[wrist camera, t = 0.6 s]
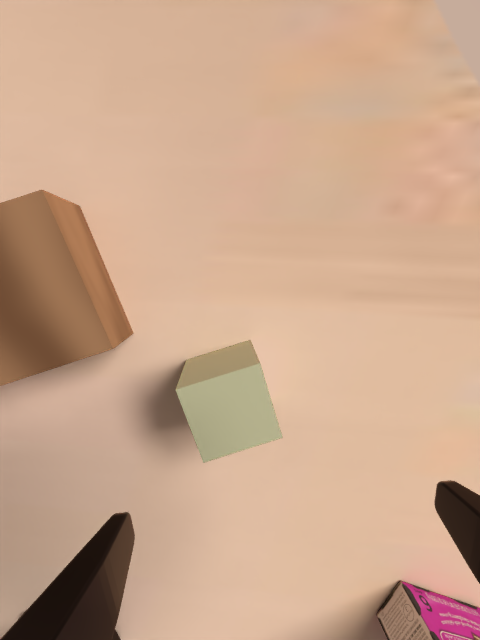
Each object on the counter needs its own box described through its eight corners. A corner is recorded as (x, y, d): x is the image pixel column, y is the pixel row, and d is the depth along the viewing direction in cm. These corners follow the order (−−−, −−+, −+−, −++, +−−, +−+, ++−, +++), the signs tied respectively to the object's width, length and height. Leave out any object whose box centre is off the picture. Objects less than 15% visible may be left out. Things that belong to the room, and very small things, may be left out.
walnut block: (17, 371, 19) (-35, 397, 15) (-49, 249, 17) (-127, 244, 14) (134, 332, 19) (113, 348, 15) (82, 206, 17) (41, 189, 14)
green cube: (207, 417, 21) (203, 462, 16) (186, 359, 20) (175, 389, 15) (268, 398, 21) (282, 437, 16) (250, 339, 20) (260, 363, 15)
